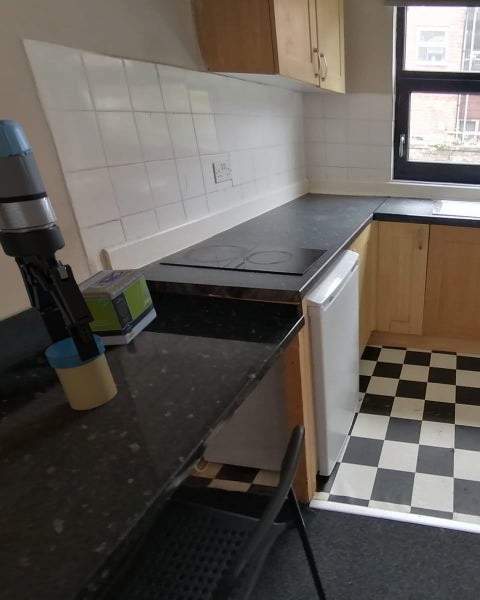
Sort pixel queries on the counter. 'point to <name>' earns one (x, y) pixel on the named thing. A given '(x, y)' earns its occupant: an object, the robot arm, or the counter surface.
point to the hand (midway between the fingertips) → (76, 350)
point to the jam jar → (88, 384)
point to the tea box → (118, 304)
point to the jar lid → (69, 353)
